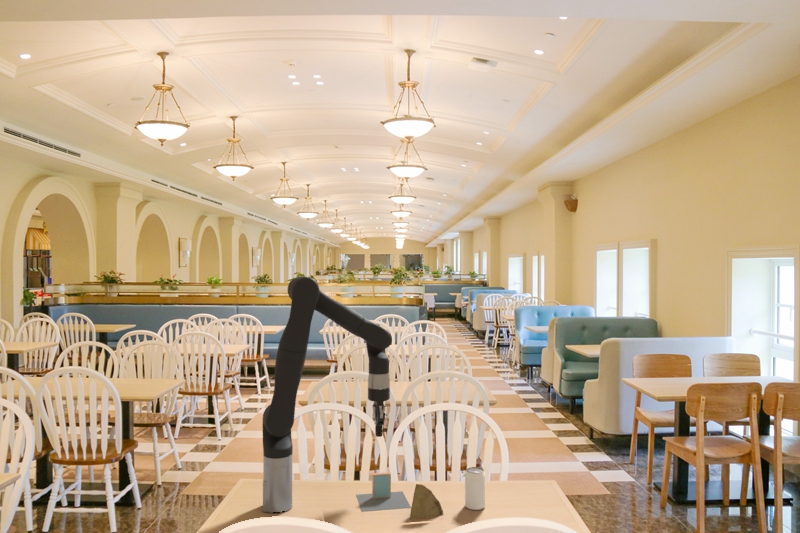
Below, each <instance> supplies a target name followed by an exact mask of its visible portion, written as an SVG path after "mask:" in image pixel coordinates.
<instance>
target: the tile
mask: <svg viewBox="0 0 800 533" xmlns="http://www.w3.org/2000/svg"><path fill="white" fill-rule="evenodd" d="M371 475H372V476H371V477H372V479H371V480H372V482H371V483H372V484H371V488H372V489H371V490H372V491H371V494H372V498H373V499H380V498H391V492H392V491H391V490H392V488H391V486H392V485H391V484H392V481H391V479H392V476H391V475H392V474H391V472H390V471H389V472H388V471H387V472H377V473H375V472H373V473H371Z"/></svg>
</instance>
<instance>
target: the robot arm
mask: <svg viewBox="0 0 800 533" xmlns="http://www.w3.org/2000/svg"><path fill="white" fill-rule="evenodd" d="M287 295H288V297H289V299H291V302H290V303H291V304H290V310H289V311H290V312H289V317H288V321H287V323H286V325H285V327H284V330H283V332H282V334H281V337H280V339H279V343H278V347H277V351H276V357H275V364H274V365H275V366H274V386H273V387H274V388H273V396H272V399H271V402H270V404H269V405H268V406H267V407H266V408H265V409H264V411H263V414H262V449H263V450H262V452H263V456H262V457H263V461H262V462H263V466H262V467H263V468H262V469H263V472H262V473H263V475H262V477H263V478H262V512H263V513H270V514H271V513H272V514H274V513H273V512H280V513H282V512H281V511H285V512H287V511H289V510H291V509H293V449H294V448H293V447H294V446H293V440H292V438H293V437H292V428H293V426H294V423H295V412H296V411H295V410H296V404H297V395H298V390H299V387H300V382H301V379H302V375H303V371H304V367H305V361H306V357H307V352H308V345H309V340H310V335H311V334H310V332H311V325H312V320H313V316H314V313H315V311H316V312H318V313H320V314H321V315H323V316H324V317H326V318H327V319H329V320H330V321H332V322H333V323H335V324H337V326H339V327H341V328H343V329H344V330H345V331H348V332H349V333H350V334H351V335H354V336H355V337H358V338H361V339H363V340H364V341H365V346H366V351H367V357H368V375H367V376H368V377H367V399H368V401H370V402H373V404H372V406H371V407H372V408H371V409H372V413H373V414H372V417H373V422H374V426H375V427H374V428H375V429H374V431H375V432H374V433H375V437H377V438H378V437H379V438H381V437H382V436H383V426H384V425H385V418H386V412H385V411H386V405H385V404H384V402H387V401H389V400H390V397H391V396H390V395H391V393H390V392H391V388H390V387H391V383H390V382H391V381H390V380H391V378H390V360H389V357H388V356H387V354H386V349H388V348H389V347H390V346H391V344H392V341H393V337H392V335H391V333H390V331H388V329H385V328H384V327H382V326H380V325H379V324H377V323H375V322H372V321H371V320H370V319H368V318H366V317H365V316H364V315H362V314H360V313H359V312H358V311H356V310H354V309H352V308H351V307H349V306H347V305H345V304H343V303H342V302H340V301H337V300H335V299H334V298H332V297H330V296H328V295H327V294H326V293H324V292H323V291H322V290H321V289H320V286H319V284H318V282H317V281H316V280H315V279H314V278H312V277H310V276H301V275H300V276H297V277H294V278H293V279H291V280H290V281H289V283H288V285H287Z"/></svg>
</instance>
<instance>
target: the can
mask: <svg viewBox="0 0 800 533" xmlns="http://www.w3.org/2000/svg"><path fill="white" fill-rule="evenodd" d="M464 474H465V476H464V477H465V478H464V479H465V480H464V483H465V484H464V506H465V507H466V508H467V509H468V510H472V511H481V510H483V509H485V507H486V474H485V470H484V468H483V467H478V466H470V467H469V466H468V467H466V472H465V473H464Z"/></svg>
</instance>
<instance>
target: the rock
mask: <svg viewBox="0 0 800 533" xmlns="http://www.w3.org/2000/svg"><path fill="white" fill-rule="evenodd" d="M410 507H411V508H410V514H409V518H410V520H424V519H429V518H432V517H437V516H444V511H443V508H442V505H441V502H440V501H439V500H438V499H437V498H436V496H435V494H434V493H433V492H432V490H431V489H430V488H428V487H426V485H423V484H417V483H416V484H415V488H414V492H413V497H412V503H411V506H410Z"/></svg>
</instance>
